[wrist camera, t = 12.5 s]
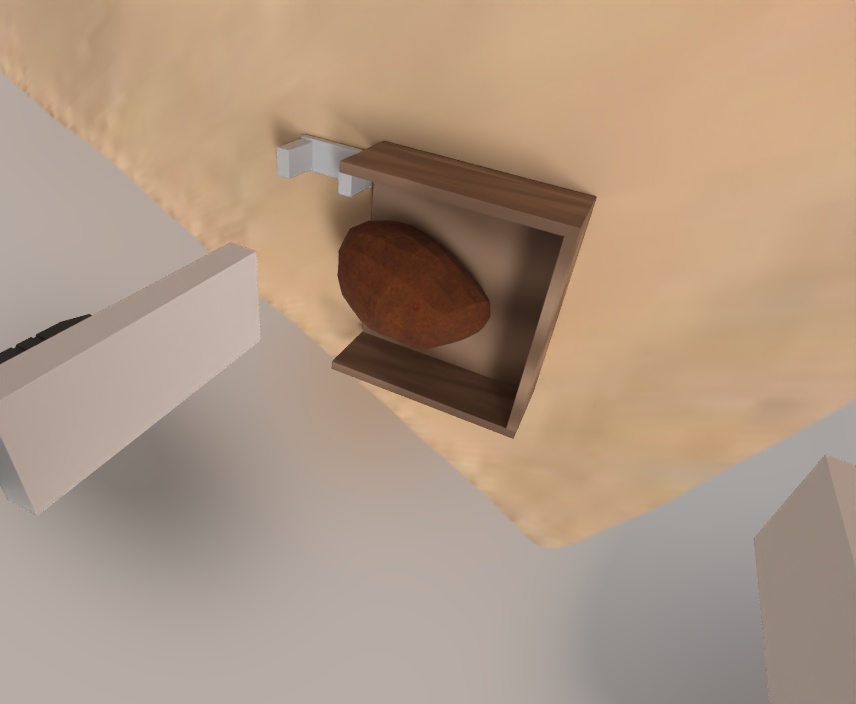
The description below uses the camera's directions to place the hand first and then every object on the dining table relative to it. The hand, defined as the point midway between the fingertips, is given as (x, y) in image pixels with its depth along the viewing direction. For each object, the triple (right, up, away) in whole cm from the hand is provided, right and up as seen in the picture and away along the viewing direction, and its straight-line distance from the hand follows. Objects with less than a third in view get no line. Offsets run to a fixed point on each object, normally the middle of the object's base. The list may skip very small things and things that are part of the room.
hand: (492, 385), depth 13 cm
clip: (-8, +15, +28) cm, 33 cm away
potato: (-1, +7, +29) cm, 30 cm away
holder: (+1, +7, +29) cm, 30 cm away
